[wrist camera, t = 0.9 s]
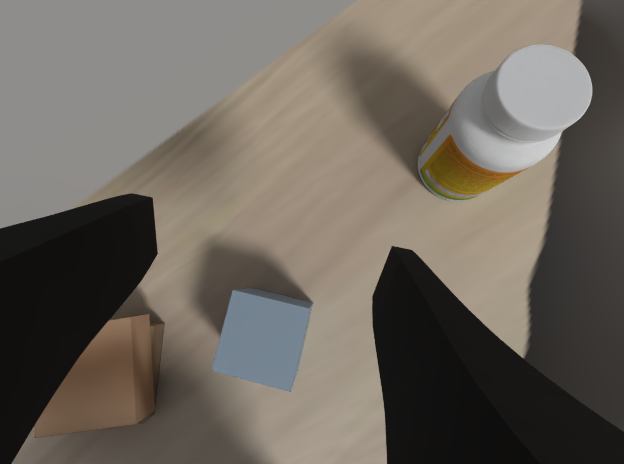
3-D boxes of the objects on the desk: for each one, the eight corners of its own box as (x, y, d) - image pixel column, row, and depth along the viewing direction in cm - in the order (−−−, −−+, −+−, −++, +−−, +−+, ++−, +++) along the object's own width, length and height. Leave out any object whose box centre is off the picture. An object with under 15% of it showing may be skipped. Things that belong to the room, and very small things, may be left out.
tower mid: (154, 410, 20) (135, 424, 18) (63, 422, 20) (34, 437, 18) (149, 313, 21) (130, 317, 19) (62, 326, 21) (34, 331, 19)
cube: (298, 368, 21) (290, 391, 17) (235, 352, 22) (211, 370, 17) (313, 302, 22) (309, 308, 18) (251, 287, 22) (232, 289, 18)
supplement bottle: (494, 202, 22) (620, 145, 13) (417, 202, 23) (483, 146, 13) (489, 131, 23) (603, 26, 14) (414, 131, 23) (475, 29, 14)
